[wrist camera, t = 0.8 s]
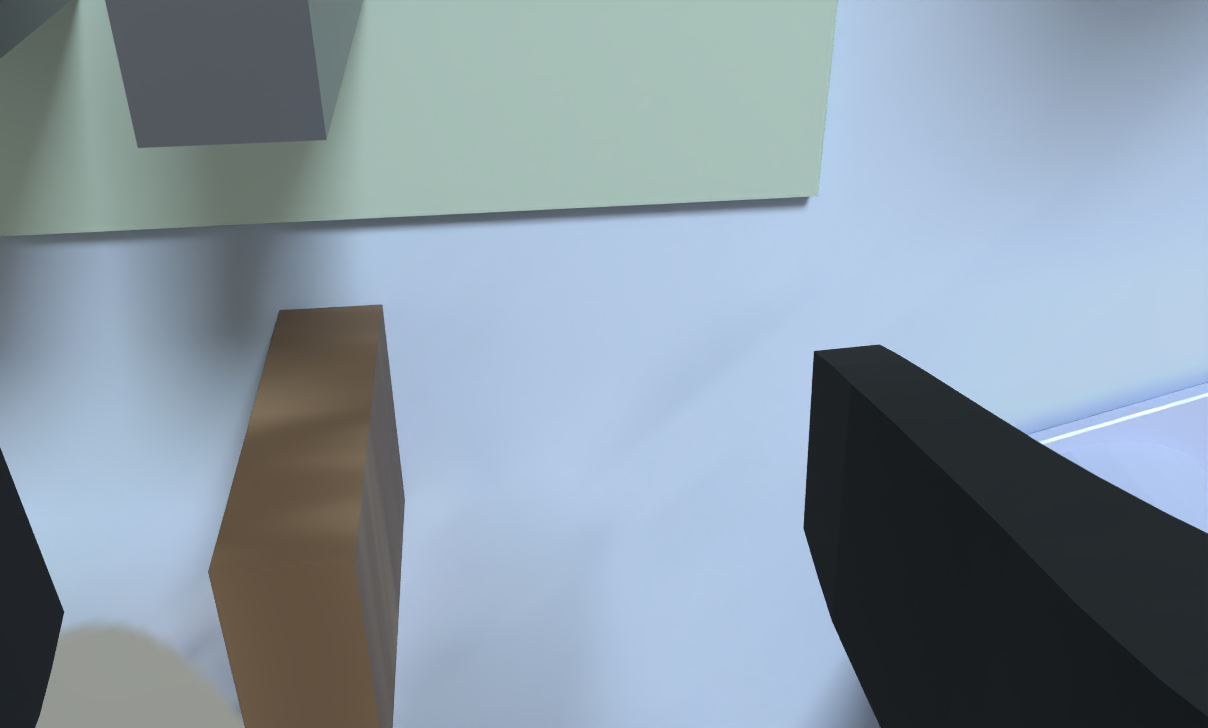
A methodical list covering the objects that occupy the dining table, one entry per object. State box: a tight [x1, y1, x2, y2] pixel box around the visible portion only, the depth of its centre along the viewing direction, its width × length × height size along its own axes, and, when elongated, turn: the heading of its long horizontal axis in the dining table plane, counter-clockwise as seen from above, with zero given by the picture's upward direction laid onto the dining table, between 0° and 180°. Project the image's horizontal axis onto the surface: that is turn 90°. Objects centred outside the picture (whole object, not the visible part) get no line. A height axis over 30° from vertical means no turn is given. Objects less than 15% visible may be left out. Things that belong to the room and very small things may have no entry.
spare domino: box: [208, 305, 405, 728], centre depth 18 cm, size 2×4×7 cm, turn 0°
